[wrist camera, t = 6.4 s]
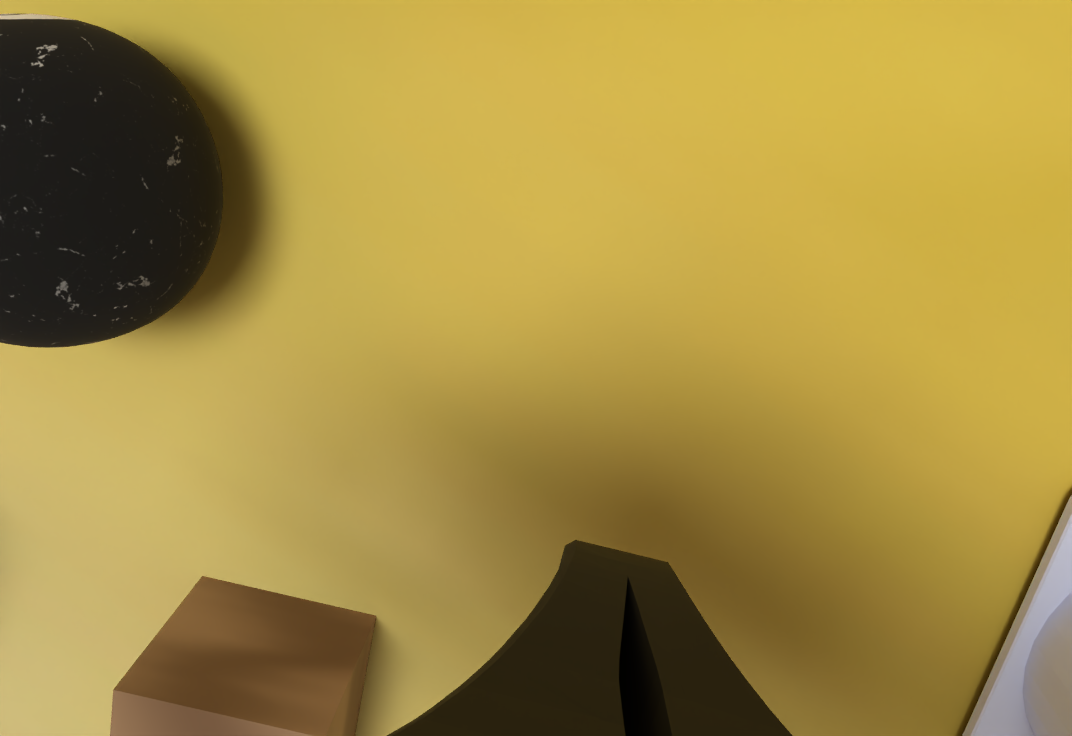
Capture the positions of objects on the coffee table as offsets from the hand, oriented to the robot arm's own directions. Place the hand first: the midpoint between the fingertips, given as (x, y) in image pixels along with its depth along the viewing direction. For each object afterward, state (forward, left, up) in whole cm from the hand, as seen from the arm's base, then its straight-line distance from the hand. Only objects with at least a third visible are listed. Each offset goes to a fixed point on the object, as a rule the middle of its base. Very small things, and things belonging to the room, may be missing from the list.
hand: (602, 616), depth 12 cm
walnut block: (+6, +10, -10) cm, 15 cm away
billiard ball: (+11, -2, -10) cm, 15 cm away
